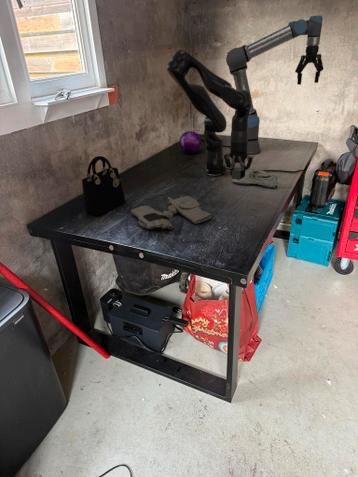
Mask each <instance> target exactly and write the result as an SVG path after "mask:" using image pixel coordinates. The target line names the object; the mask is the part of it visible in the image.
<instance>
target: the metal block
mask: <svg viewBox="0 0 358 477" xmlns="http://www.w3.org/2000/svg"><path fill="white" fill-rule="evenodd" d="M241 171H242V169H241V167H238V166H235V167H234V169H233V170H232V177H231V180H232V179H236V180H241V179H242V178H241Z"/></svg>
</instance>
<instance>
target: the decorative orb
mask: <svg viewBox="0 0 358 477" xmlns="http://www.w3.org/2000/svg"><path fill="white" fill-rule="evenodd" d="M201 139H202V138H201V137H200V135H199V134H198V133H197V132H195V131H192V130H187V131H185V132H184V133H182V135H181V136H180V138H179V140H178V141H179V142H178V143H179V148H180V149H181V150H182V151H183V153H185V154H194V153H196V152H197V151H198V150H199V149H200V147H201V145H202V140H201Z"/></svg>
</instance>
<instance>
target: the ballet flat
mask: <svg viewBox="0 0 358 477" xmlns="http://www.w3.org/2000/svg"><path fill="white" fill-rule="evenodd" d="M257 171H258V172H257V173H253V172H254V171H253V169H248V170H246V171H245V177H244V178H242V179H241V180H236V179H232V178H231V181H232V182H233V184H238V185H244V186H245V185H246V186H247V185H253V184H254V185H258V186H261V187H265V188H267V189H275V188H277V186H278V184H279V182H278V178H277V174H276V173H274V174H271V173H269V172H268V171H267V172H265V171H261V170H257ZM259 173H261V174H263V175H259Z"/></svg>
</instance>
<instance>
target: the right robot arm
mask: <svg viewBox="0 0 358 477" xmlns="http://www.w3.org/2000/svg"><path fill="white" fill-rule="evenodd" d="M323 19H324V17H323V15H321V14H320V15H311V16H309V19H307V20H306V19H304V18H302V19H301V18H300V19H298V20H293V21H289V22H288V24H287V25H286V26H285V27H282V28H280V29H278V30H276V31H274V32H272V33H270V34H268V35H265V36H264V37H262V38H260V39H257V40H256V41H254V42H251V43H249V44H248V45H247V44H243V45H242V46H239V47H233V48H231V49H230V50H229V51H228V53H227V54H226V57H225V62H226V65H227V66H228V71H229V74H230V75H231V76H232V77H233V81H234V86H235V89H236V90H237V91H241V90H247V91H248V92H249V93H250V95H251V96H252V94H251V90H250V89H251V88H250V84H249V80H248V75H247V70H248V64H247V63H250V62H251V61H252V59H254V58H256V57H258V56H260V55H262V54H264V53H266V52H268V51H270V50H272V49H274V48H277V47H278V46H281V45H283V44H285V43H287V42H289V41H291V40H293V39H295V38H297V37H300V36H307V37H306V47H305V54H302V55H301V56H300V60H299V62H298V64H297V66H296V68H295V70H294V72H295V73H296V74H297V75H296V76H297V77H296V78H297V85H299V86H300V85H302V79H303V71H304V70H305V69H306V67H307V65H309V64H313V66H314V68H315V70H316V71H315V74H314V81H313V83H314V84H318V83H319V79H320V77H321V72H322V71H323V70H324V64H323V60H322V53H319V49H320V46H319V45H320V41H321V35H322V34H321V33H322V29H323V28H322V27H323ZM260 120H261V119H260V117H259V115H258V112H257V109H256V108H254V103H253V99H252V97H251V108H250V113H249V117H248V145H247V154H248V156H252V155H258V154H259V153H261V146H260V142H259V133H260V123H261V121H260ZM200 139H201V141H202V142H205V140H204V138H200ZM224 147H225V148H230V145H224V144H223V148H224Z"/></svg>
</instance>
